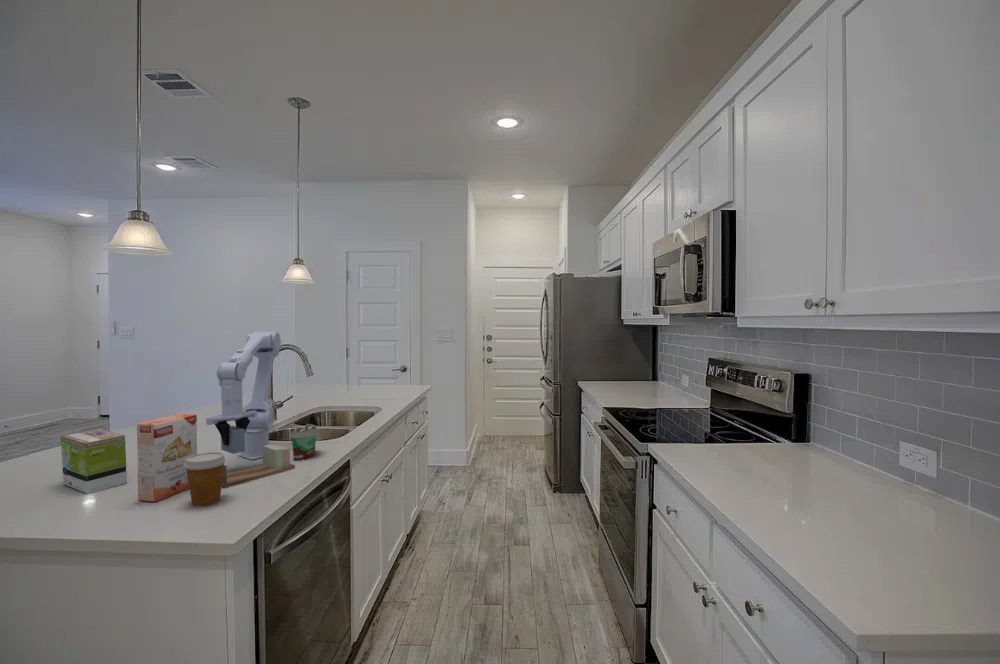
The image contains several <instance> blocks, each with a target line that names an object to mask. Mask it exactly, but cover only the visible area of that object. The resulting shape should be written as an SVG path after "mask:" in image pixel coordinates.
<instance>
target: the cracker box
mask: <svg viewBox="0 0 1000 664" xmlns="http://www.w3.org/2000/svg"><path fill="white" fill-rule="evenodd" d="M197 416H198V415H197V414H194V413H177V414H173V415H169V416H165V417H162V418H156V419H152V420H148V421H143V422H140V423H136V435H137V437H136V438H137V440H136V441H137V443H136V444H137V446H136V447H137V452H136V453H137V496H138V497H137V498H138V499H137V500H138V501H139V502H142V501H143V502H150V503H157V502H159V501H162V500H163V499H166V498H168V497H171V496H173V495H176V494H177V492H178V493H180V492H182V490H183V491H185V490H187V489H186V488H188V487H189V482H188V477H187V471H186V468H185V466H184V463H185V461H186V458H188V457H190V456H193V455H196V454H198V427H197V426H198V422H197V421H198V417H197ZM184 489H185V490H184ZM188 489H189V488H188ZM179 491H180V492H179ZM175 493H176V494H175ZM170 495H171V496H170ZM156 501H157V502H156Z"/></svg>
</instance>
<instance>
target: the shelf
mask: <svg viewBox="0 0 1000 664" xmlns="http://www.w3.org/2000/svg"><path fill="white" fill-rule="evenodd" d="M295 466H296V465H295V464H292V463H290V466H286V467H282V468H279V469H275V468H272V467H269V466H266V465H263V463H260V464H256V465H252V466H248V467H244V468H241V469H237V470H233V471H230V472H229V471H228V472H227V465H225V464H224V468H223V476H222V485H221V487H222V488H221V489H223V488H224V489H226V487H227V488H230V487H229V486H231V487H233V485H234V486H236V484H238V485H240V483H241V484H244V482H245V483H248V482H251V481H250V480H252V481H254V479H255V480H257V479H258V478H259V479H261V477H262V478H266V477H269V476H271V475H277V474H279V473H282V472H286V471H290V470H294V469H296V467H295ZM247 481H248V482H247Z"/></svg>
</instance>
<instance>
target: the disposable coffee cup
mask: <svg viewBox="0 0 1000 664" xmlns="http://www.w3.org/2000/svg"><path fill="white" fill-rule="evenodd" d="M226 461H227V457H225V455H224V453H223V452H219V451H211V452H202V453H197V454H196V455H193V456H190V457H188V458H186V461H185V463H184V466H185V468H186V471H187V477H188V482H189V488H188V489H189V494H190V500H191V504H192V505H193V506H195V505H198V506H197V507H200V506H199V505H205V506H209V505H208V504H210V505H213V504H216V503H218V502H219V501H220V500H221V493H222V488H221V485H222V476H223V468H224V465H225V462H226ZM218 500H219V501H218ZM217 501H218V502H217ZM215 502H216V503H215ZM212 503H213V504H212Z"/></svg>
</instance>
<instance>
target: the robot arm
mask: <svg viewBox="0 0 1000 664" xmlns="http://www.w3.org/2000/svg"><path fill="white" fill-rule="evenodd" d="M245 343H246V344H244V346H243V348H240V349H239V348H238V349H237V350H236V351H235V352H234V353H233V354H232V356H231V357H230V358H229V359H228V360H227V361H226V362H225V361H224V362H222V363H220V364H219V365H218V366H217V370H216V371H217V372H216V377H217V380H218V385H219V387H220V388H221V390H220V392H221V393H220V394H221V395H220V396H221V414H218V415H214V416H210V417H205V424H206V425H207V426H212V425H214V426H215V428H216V429H217V431H218V433H219V434H220V438H221V437H222V440H223V445H226V446H227V445H229V429H230V426H231V424H229V422H233V421H234V423H235V427H239V428H242V429H244V433H245V451H244V452H240V453H239V454H238V453H237V454H238V455H237V456H239V457H243V458H245V459H247V460H250V461H253V460H259V459H263V446H265V445H270V443H269V442H270V441H269V437H270V436H269V430H271V428H272V427H273V426H274V423H275V422H274V421H275V418H274V417H275V416H274V414H275V413H274V411H275V410H274V407H273V406H271V405H270V404H269V403H268V397H269V392H270V391H269V390H270V386H271V380H272V373H273V367H274V361H275V358H276V357H278V356H279V355H280V350H281V349H280V348H281V344H282V340H281V335H280V333H279V332H278V331H275V330H274V331H253V330H251V331H250V332H248V334H247V335H246V342H245ZM254 357H255V358H257V359H258V361H257V362H258V363H257V368H256V374H255V380H254V385H253V389H252V390H253V392H252V396H251V400H250V402H249V403H247V404H246V405H245V406H244V405H243V403H244V402H243V380H244V379H245V377H246V374H247V373H246V372H247V371H248V367H249V366H250V364H252V363H253V360H254Z"/></svg>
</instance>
